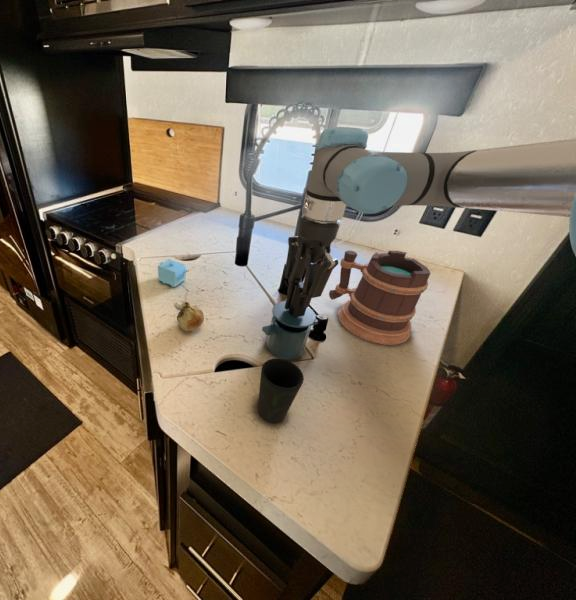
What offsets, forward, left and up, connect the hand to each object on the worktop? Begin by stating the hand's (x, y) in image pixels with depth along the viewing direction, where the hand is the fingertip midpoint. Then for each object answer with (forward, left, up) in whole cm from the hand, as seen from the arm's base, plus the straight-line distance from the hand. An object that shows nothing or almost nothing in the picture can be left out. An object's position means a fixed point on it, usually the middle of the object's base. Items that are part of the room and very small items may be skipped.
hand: (294, 311), depth 75 cm
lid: (0, 0, -1) cm, 1 cm away
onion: (+15, +21, -12) cm, 28 cm away
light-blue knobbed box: (+39, +18, -12) cm, 44 cm away
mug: (+3, -29, -12) cm, 31 cm away
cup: (-16, +14, -12) cm, 24 cm away
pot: (0, 0, -12) cm, 12 cm away
